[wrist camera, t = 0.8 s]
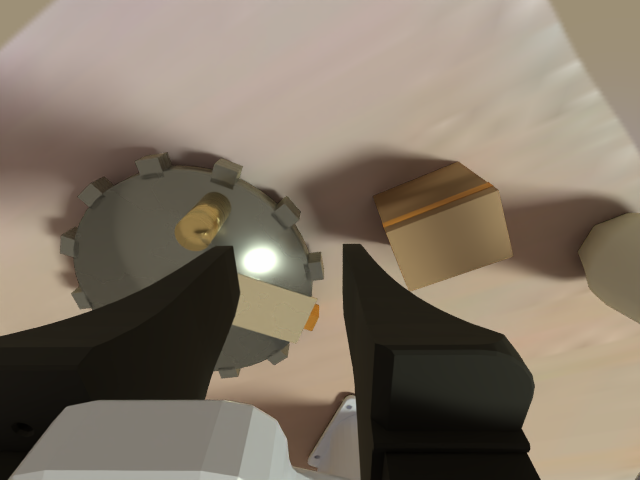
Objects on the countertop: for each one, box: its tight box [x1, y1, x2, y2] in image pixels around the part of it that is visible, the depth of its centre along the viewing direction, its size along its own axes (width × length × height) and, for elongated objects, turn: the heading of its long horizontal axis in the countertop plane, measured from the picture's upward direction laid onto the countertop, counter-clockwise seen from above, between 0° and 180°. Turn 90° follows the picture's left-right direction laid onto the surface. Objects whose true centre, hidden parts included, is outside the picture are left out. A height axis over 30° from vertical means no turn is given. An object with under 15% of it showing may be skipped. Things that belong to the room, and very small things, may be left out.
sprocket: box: [60, 152, 324, 378], centre depth 19 cm, size 15×15×5 cm
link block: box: [373, 162, 513, 291], centre depth 18 cm, size 5×4×5 cm
